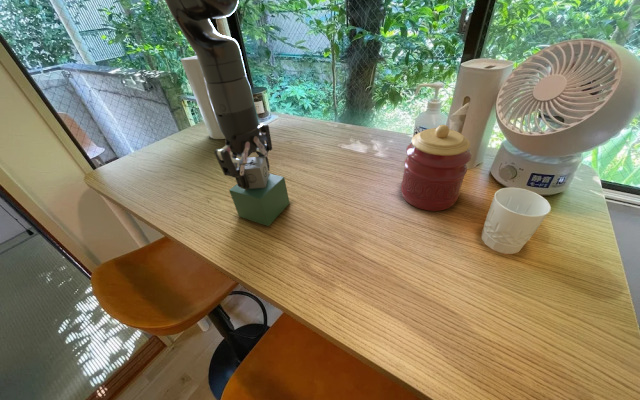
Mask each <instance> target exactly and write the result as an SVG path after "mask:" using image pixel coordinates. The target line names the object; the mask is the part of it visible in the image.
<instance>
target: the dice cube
mask: <svg viewBox="0 0 640 400" xmlns="http://www.w3.org/2000/svg"><path fill="white" fill-rule="evenodd" d="M237 169H239V165H238V167H237ZM244 173H245V174H246V177H247V180H248V183H249V188H248V189H251V188H265V187H266V184H267V181H268V179H269V176H270V175H269V174H270V170H269V171H268V167H267V163H266V159H265V156H263V157H258V156H251V157H250V156H248V158H247V164H245V170H244Z"/></svg>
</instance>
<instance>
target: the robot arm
mask: <svg viewBox="0 0 640 400" xmlns="http://www.w3.org/2000/svg"><path fill="white" fill-rule="evenodd" d="M164 1H165V4H166V6H167V9H168V10H169V11H170V14H171V16H172V17H173V19H174V21H175V22H176V24H177V26H178V27H179V29H180V31H181V32H182V34H183V36H184V37H185V40H186V41H187V43H188V44H189V46H190V47H191V49H192V51H193V52H194V55H195V56H197V58H198V62H199V64H200V67H201V70H202V73H203V76H204V79H205V82H206V86H207V91H208V95H209V99H210V101H211V104H212V107H213V110H214V113H215V116H216V119H217V122H218V125H219V128H220V130H221V132H222V134H223V135H224V136H225V145H224V146H222V148H215V149H214V152H213V153H214V155H215V157H216V160H217V163H218V164H219V166H220V168H221V171H222V173H223V175H224V176H226V177H230V178H233V179H235V182H236V184H238V186H239V187H240V188H243V189H246V190H247V189H248V188H249V183H248V180H247V177H246V174H245V173H244V170H245V164H247V158H248V157H250V156H251V155H252V154H253V153H254V154H255V155H256V156H257V157H263V156H265V159H266V163H267V167H268V171H269V172H270V163H269V158H268V156H269V152H272V150H273V144H272V138H271V137H272V136H271V132H270V126H269V124H265V123H260V120H259V115H258V112H257V108H256V104H255V103H256V102H255V100H254V95H253V92H252V87H251V85H250V82H249V79H248V76H247V73H246V68H245V63H244V60H243V56H242V51H241V49H240V45H239V43H238V41H237V40H236V39H235V38H232V37H230V36H227V35H222V34H220V33H219V32H218V31H217V30H216V28H215V27H214V25H213V23H212V22H211V20H212V19H222V18H223V19H224V18H226V17H230V16H231V15H232V14H233V13H235V11H236V10H237V7H238V4H239V0H164ZM238 157H240V158H238ZM238 166H239V169H237V168H238Z"/></svg>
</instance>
